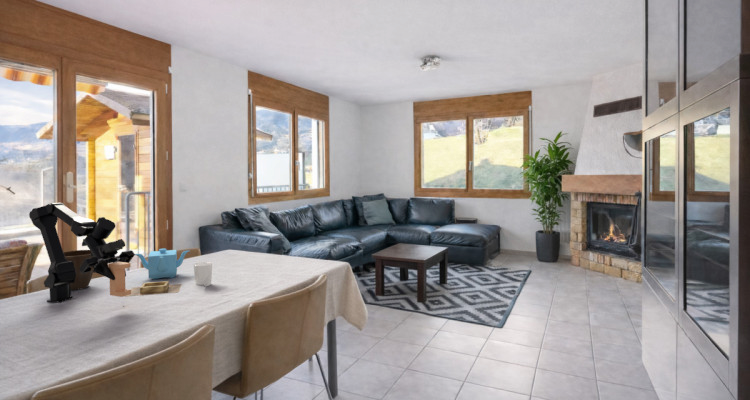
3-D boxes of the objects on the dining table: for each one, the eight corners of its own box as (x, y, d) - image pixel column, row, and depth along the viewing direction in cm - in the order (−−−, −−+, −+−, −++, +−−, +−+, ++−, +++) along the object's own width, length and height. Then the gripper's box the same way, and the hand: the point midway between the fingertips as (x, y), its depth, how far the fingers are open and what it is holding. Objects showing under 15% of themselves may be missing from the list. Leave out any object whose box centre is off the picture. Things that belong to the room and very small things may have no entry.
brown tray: (124, 298, 168) (124, 290, 167) (132, 289, 181) (132, 282, 181) (178, 294, 174) (178, 286, 174) (181, 286, 187) (181, 278, 187)
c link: (110, 295, 153) (109, 263, 152) (119, 292, 156) (119, 261, 156) (121, 296, 151) (120, 265, 150) (131, 294, 154) (130, 263, 154)
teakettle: (164, 272, 213) (163, 244, 212) (192, 275, 207) (192, 246, 206) (132, 281, 196) (131, 251, 195) (162, 284, 189) (161, 253, 188)
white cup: (190, 285, 188) (190, 264, 187) (204, 282, 195) (204, 261, 194) (202, 288, 184) (201, 266, 184) (216, 284, 191) (215, 263, 190)
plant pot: (106, 283, 190) (105, 250, 189) (80, 293, 175) (78, 256, 174) (77, 282, 192) (75, 249, 191) (48, 291, 177) (47, 255, 176)
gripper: (83, 236, 145) (106, 270, 142) (130, 230, 163) (152, 259, 159) (69, 256, 148) (91, 289, 145) (117, 248, 166) (137, 277, 163)
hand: (119, 278), depth 153 cm, fingers closed on c link, 4 cm apart
